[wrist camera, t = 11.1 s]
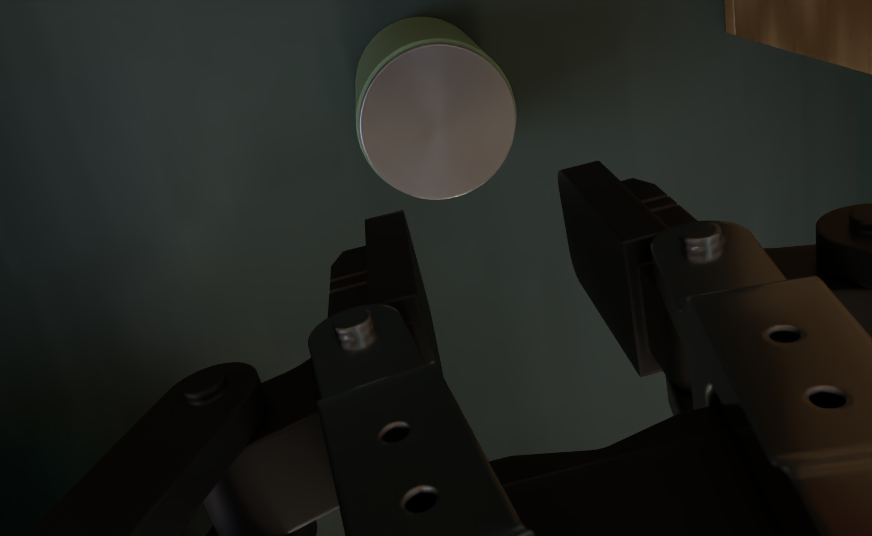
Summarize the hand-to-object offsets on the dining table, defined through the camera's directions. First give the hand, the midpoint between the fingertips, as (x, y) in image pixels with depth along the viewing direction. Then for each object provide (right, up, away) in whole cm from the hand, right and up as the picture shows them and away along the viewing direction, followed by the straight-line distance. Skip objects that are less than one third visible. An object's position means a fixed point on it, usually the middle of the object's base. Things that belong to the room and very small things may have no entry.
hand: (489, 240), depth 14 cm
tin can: (-2, +6, +14) cm, 15 cm away
